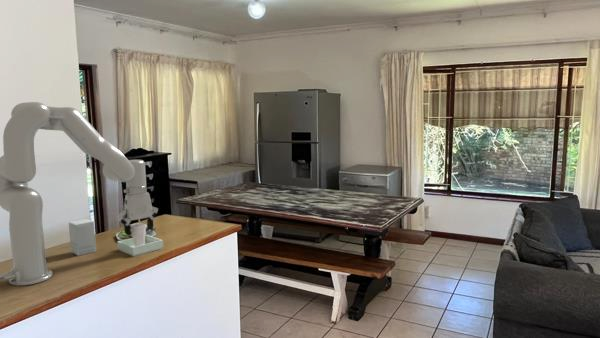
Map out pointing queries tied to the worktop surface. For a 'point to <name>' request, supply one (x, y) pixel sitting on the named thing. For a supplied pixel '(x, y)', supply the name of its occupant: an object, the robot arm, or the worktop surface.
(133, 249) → the bin
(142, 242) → the smoothie
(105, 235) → the worktop surface
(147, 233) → the avocado toast plate
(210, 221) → the worktop surface
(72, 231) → the supplement box
